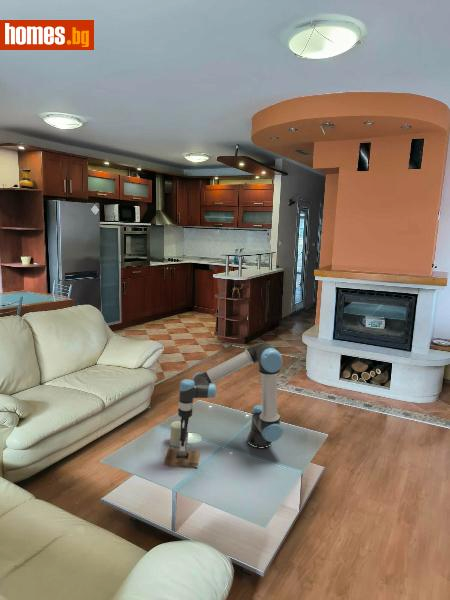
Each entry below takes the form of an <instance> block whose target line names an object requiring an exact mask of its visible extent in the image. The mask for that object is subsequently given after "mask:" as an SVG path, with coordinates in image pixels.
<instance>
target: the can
mask: <svg viewBox="0 0 450 600" xmlns="http://www.w3.org/2000/svg"><path fill="white" fill-rule="evenodd" d="M180 433H181V420H176V421H173V422H171V424H170V439H169V444H170V446H172V447H177V448H178V447H179V435H180Z"/></svg>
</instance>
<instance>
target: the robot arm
mask: <svg viewBox="0 0 450 600" xmlns="http://www.w3.org/2000/svg"><path fill="white" fill-rule="evenodd" d="M256 363H258V372H259V374H260V376H261V404H258V405H254V406H253V408H252V412H251V413H252V414H251V424H250V425H251V427H250V430H249V432H248V435H247V438H246V442H247V441H248V442H249V443H250V444H252V445H254V446H257V447H266V446H269V445H271V443H273V442H277V441H278V440H279V439H280V438H281V437H282V436H283V434H284V433H283V432H284V431H283V430H284V429H283V427H282V425H281V415H280V414H279V413H278V374H279V373H281V372H280V371H281V370H280V369H281V368H282V365H283V363H284V361H283V357H282V354H281V353H280V352H279V351H278V350H277V349H275V347H273V346H272V345H271V344H270V343H267V342H259V343H256V344H253V345H251V346H249V347H247V348H245V349H244V351H243V352H241V353H239V354H237V355H235V356H233V357H232V358H230V359H228V360H226V361H224V362H222V363H220V364H217V365H216V366H214V367H212V368H210V369H208V370H206V371H204V372H197V373H195V374H194V375H193V377H192V379H189V378H188V379H186V378H185V379H183V380H181V381H180V383H179V395H178V401H177V404H178V411H177V415H178V416H179V417H180V421H181V436H180V439H179V440H180V451H185V442H186V439H185V437H186V433H188V434H189V431H188V424H189V418H191V417H192V416H193V407H194V399H211V398H215V397H216V395H217V386H216V384H215V382H217V381H219V380H222V379H224V378H225V377H227V376H229V375H230V374H232V373H235V372H236V371H238V370H241V369H243V368H245V367H246V366H249V365H251V364H252V365H254V364H256ZM248 442H247V443H248ZM271 446H272V445H271Z"/></svg>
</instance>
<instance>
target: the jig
mask: <svg viewBox="0 0 450 600" xmlns="http://www.w3.org/2000/svg"><path fill="white" fill-rule="evenodd" d="M172 447H173V446H172V445H170V446H169V447H168V448H167V450H166V455H165V457H164V462H163V463H164V464H163V466H168V467H177V468H178V467H180V468H190V467H196V466H198V467H199V463H198V462H200V455H201V454H200V453H201V451H200V450H193V449H187V454H186V456H180V455H178V448H172Z"/></svg>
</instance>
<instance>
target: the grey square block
mask: <svg viewBox="0 0 450 600" xmlns="http://www.w3.org/2000/svg"><path fill="white" fill-rule="evenodd" d="M180 436H181V433H180V435H179V439H180ZM185 439H186V442H185V451H180V440H179V447H177V449H178V455H180V456H186V454H187V450H188V442H189V432H188V433H186V437H185Z"/></svg>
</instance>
